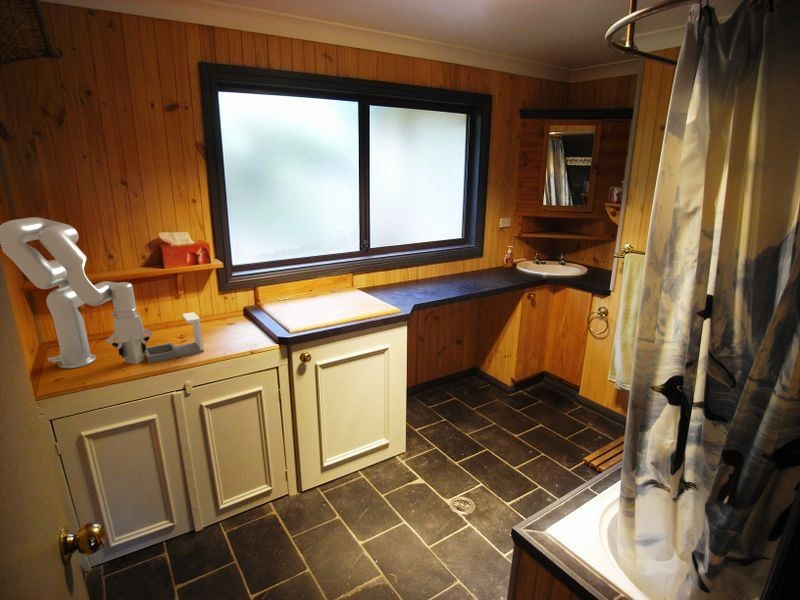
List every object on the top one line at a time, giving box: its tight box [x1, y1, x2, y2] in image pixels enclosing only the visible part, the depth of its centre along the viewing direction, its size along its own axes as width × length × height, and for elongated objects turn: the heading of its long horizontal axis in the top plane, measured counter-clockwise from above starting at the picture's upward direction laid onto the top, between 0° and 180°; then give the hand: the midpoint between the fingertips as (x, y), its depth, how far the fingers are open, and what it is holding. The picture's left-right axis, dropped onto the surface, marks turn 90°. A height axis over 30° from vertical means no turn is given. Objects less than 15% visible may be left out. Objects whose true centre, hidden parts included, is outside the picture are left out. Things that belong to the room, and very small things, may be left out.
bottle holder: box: [144, 311, 205, 364], centre depth 193 cm, size 22×11×15 cm, turn 126°
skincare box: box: [121, 336, 145, 365], centre depth 185 cm, size 6×4×12 cm
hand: (133, 354), depth 186 cm, fingers closed on skincare box, 7 cm apart
